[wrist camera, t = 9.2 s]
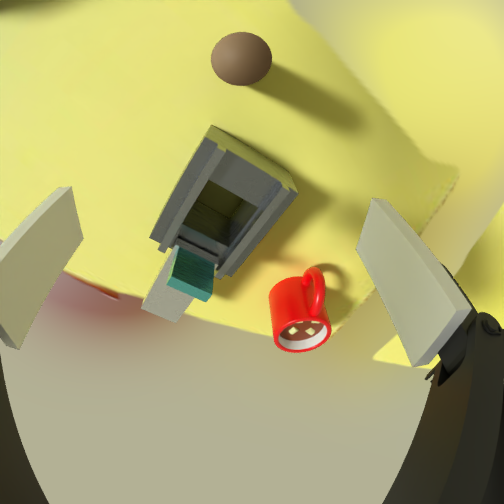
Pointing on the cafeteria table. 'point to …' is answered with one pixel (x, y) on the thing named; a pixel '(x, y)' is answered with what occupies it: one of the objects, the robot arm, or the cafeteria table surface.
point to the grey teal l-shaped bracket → (181, 281)
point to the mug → (300, 312)
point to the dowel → (241, 58)
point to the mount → (236, 181)
